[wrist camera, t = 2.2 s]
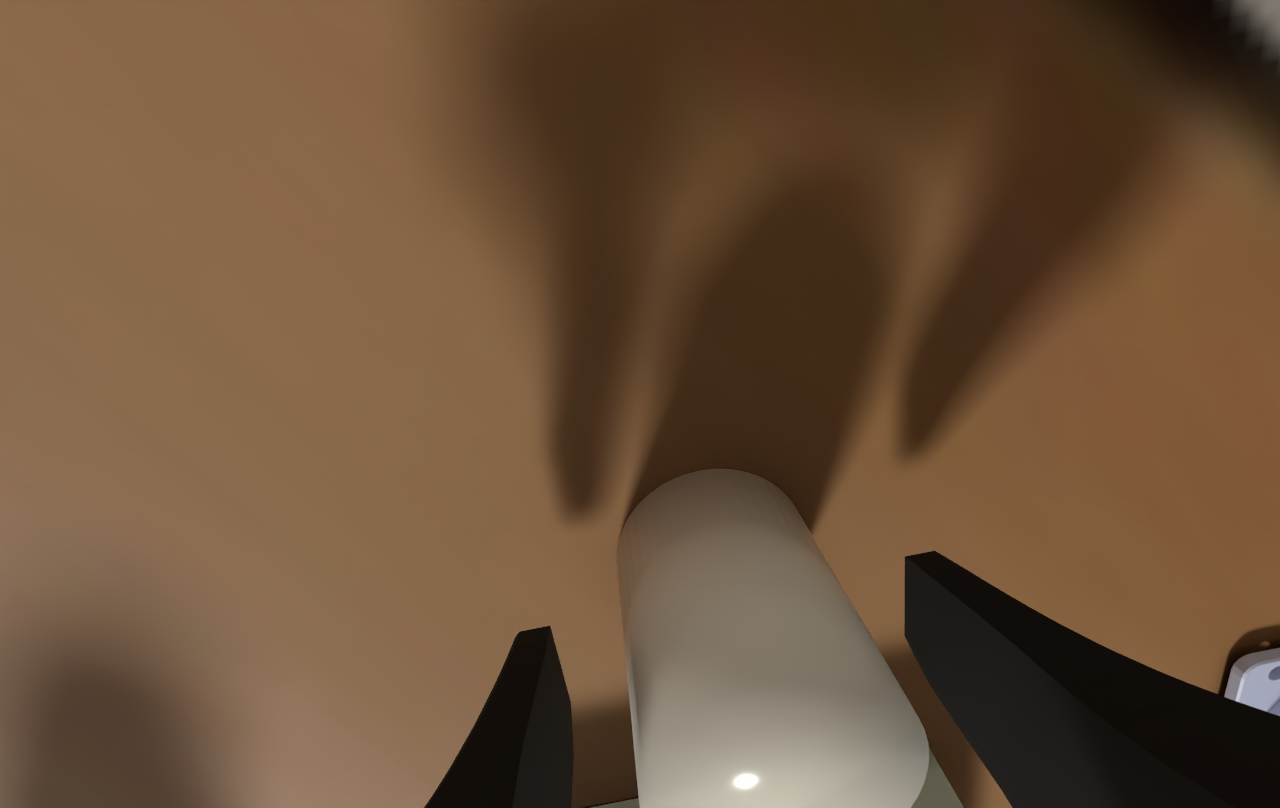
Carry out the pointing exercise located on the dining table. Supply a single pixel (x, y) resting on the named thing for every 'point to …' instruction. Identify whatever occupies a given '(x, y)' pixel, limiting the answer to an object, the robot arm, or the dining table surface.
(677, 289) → the dining table surface
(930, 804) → the bin
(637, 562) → the white capsule cylinder
